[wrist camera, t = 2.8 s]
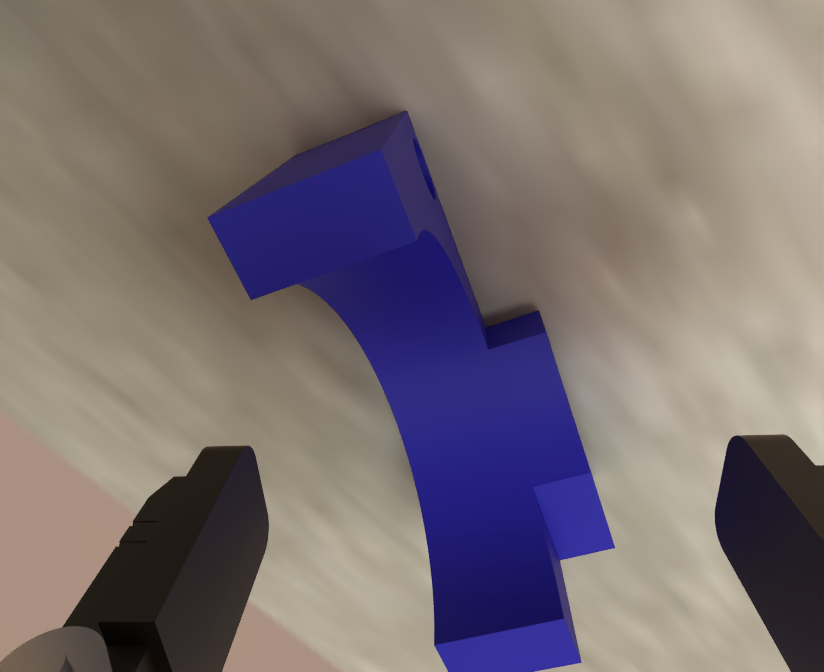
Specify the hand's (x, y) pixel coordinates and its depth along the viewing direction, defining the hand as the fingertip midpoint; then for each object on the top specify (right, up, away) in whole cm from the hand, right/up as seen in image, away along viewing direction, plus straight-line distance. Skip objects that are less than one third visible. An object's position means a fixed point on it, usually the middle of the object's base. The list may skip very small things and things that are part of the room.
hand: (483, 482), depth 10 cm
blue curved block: (0, +3, +7) cm, 7 cm away
